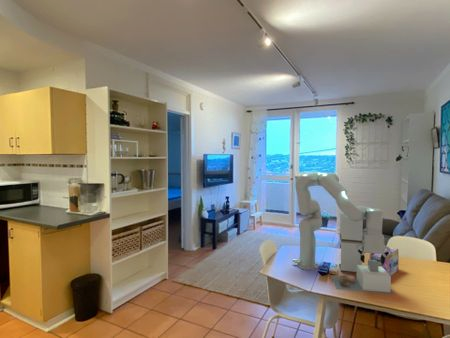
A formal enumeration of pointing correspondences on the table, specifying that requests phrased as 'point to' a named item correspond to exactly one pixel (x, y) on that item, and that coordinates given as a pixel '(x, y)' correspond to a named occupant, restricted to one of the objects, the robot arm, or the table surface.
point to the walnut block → (344, 281)
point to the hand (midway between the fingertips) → (372, 262)
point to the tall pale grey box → (350, 244)
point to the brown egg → (351, 278)
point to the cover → (373, 277)
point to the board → (354, 286)
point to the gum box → (387, 261)
